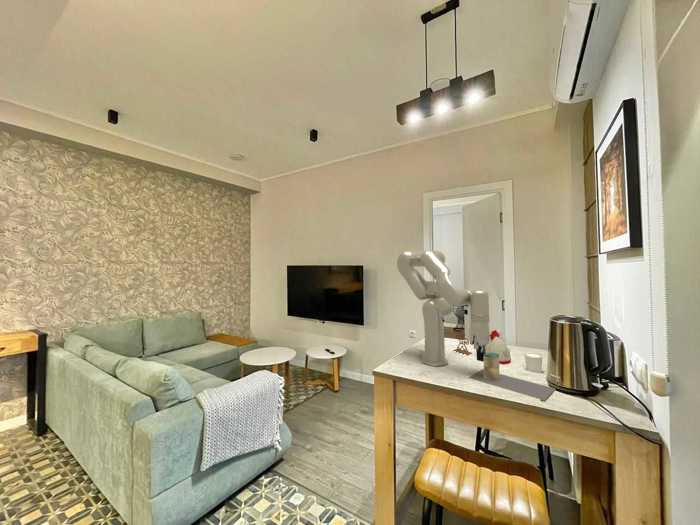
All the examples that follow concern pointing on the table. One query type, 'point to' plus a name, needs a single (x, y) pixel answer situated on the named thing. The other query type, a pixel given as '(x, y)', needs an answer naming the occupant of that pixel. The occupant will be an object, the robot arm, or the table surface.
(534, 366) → the white round tub
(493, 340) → the white red winter hat
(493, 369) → the spice jar
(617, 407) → the table surface
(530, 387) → the mat
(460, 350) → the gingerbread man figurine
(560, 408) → the table surface
